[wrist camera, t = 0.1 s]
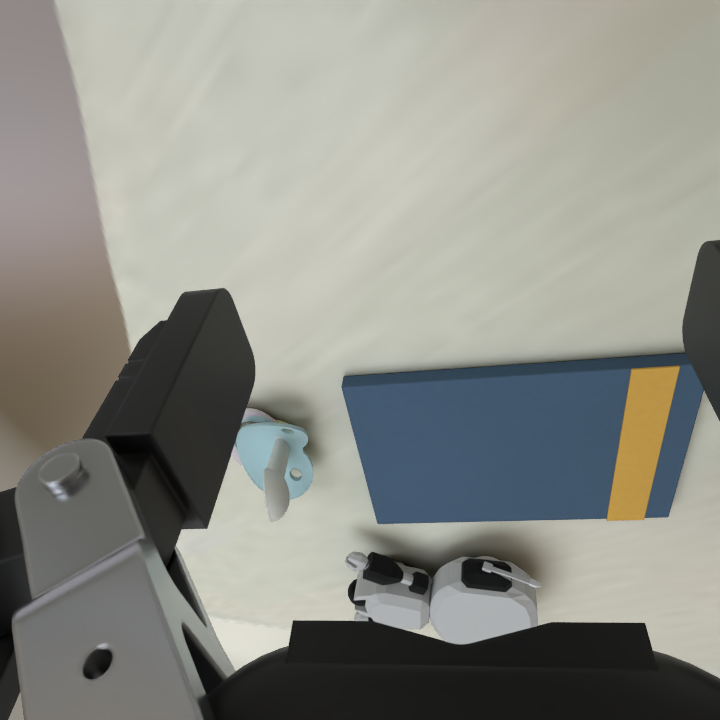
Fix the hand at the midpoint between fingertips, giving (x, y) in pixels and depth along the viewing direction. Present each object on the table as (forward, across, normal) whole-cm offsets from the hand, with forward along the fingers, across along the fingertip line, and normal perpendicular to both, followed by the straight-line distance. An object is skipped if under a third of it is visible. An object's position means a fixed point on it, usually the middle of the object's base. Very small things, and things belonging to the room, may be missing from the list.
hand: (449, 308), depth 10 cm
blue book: (+17, -3, +24) cm, 30 cm away
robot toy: (+17, +3, +39) cm, 43 cm away
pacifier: (+17, +13, +22) cm, 31 cm away
